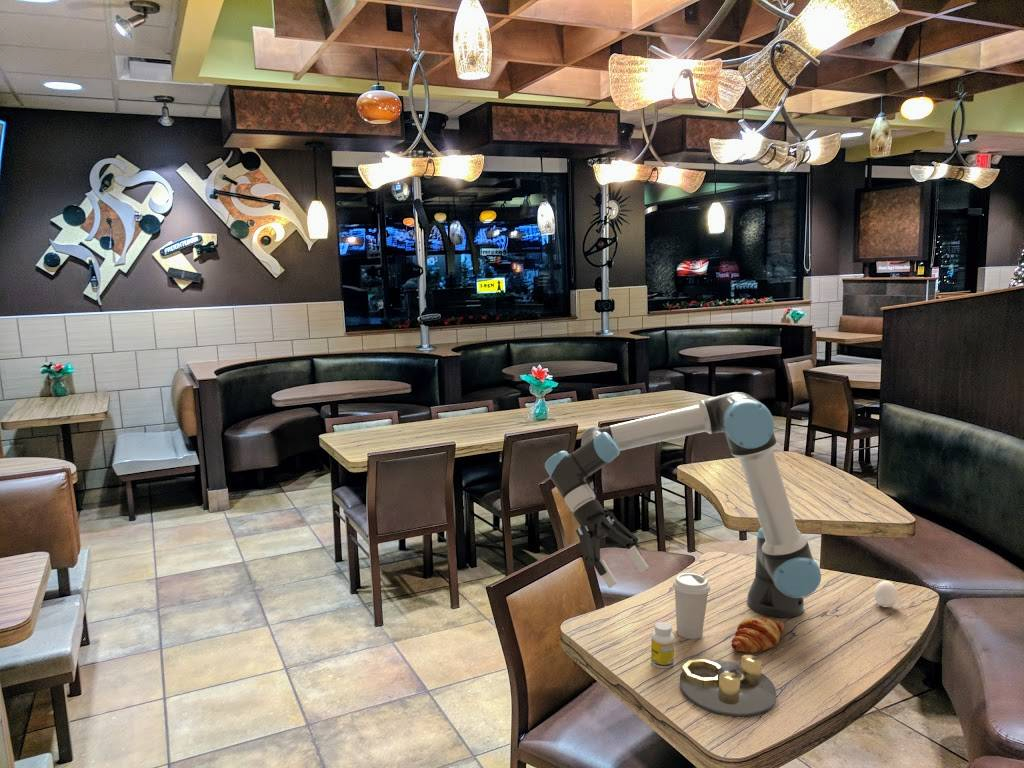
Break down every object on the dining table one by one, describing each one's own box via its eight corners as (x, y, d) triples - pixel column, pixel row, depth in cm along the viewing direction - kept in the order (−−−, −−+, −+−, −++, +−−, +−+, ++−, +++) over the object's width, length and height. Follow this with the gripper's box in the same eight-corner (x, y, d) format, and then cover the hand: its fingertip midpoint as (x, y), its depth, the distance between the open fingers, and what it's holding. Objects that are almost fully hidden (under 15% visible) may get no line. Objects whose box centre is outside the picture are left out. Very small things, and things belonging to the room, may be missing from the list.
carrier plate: (750, 663, 181) (752, 638, 180) (793, 714, 161) (795, 686, 160) (667, 668, 179) (668, 643, 178) (699, 720, 158) (700, 692, 157)
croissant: (770, 638, 201) (760, 609, 203) (802, 634, 193) (791, 604, 195) (723, 663, 187) (713, 630, 189) (756, 659, 180) (744, 626, 182)
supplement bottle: (648, 658, 184) (649, 620, 182) (669, 657, 184) (671, 619, 183) (654, 669, 178) (655, 631, 177) (676, 668, 179) (677, 630, 177)
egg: (868, 603, 214) (870, 578, 213) (886, 601, 216) (888, 576, 215) (883, 612, 209) (885, 586, 207) (901, 610, 210) (904, 585, 209)
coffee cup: (709, 643, 191) (711, 588, 188) (671, 640, 193) (673, 585, 190) (707, 626, 200) (709, 573, 198) (670, 623, 202) (672, 570, 200)
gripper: (604, 503, 206) (647, 570, 198) (545, 523, 188) (589, 599, 180) (621, 488, 201) (666, 557, 193) (562, 508, 183) (608, 585, 176)
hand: (629, 577), depth 187 cm, fingers open, 13 cm apart
